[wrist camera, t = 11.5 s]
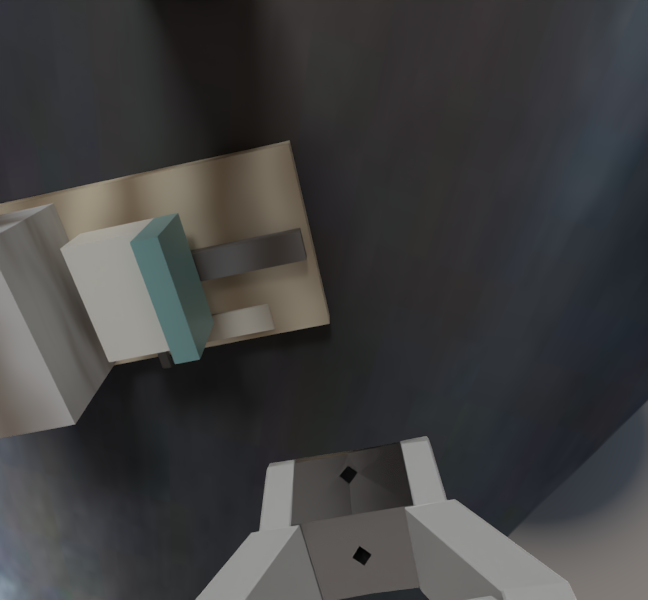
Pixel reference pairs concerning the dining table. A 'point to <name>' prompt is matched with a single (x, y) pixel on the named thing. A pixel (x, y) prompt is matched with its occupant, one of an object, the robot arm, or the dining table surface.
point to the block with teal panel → (142, 290)
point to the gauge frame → (207, 251)
